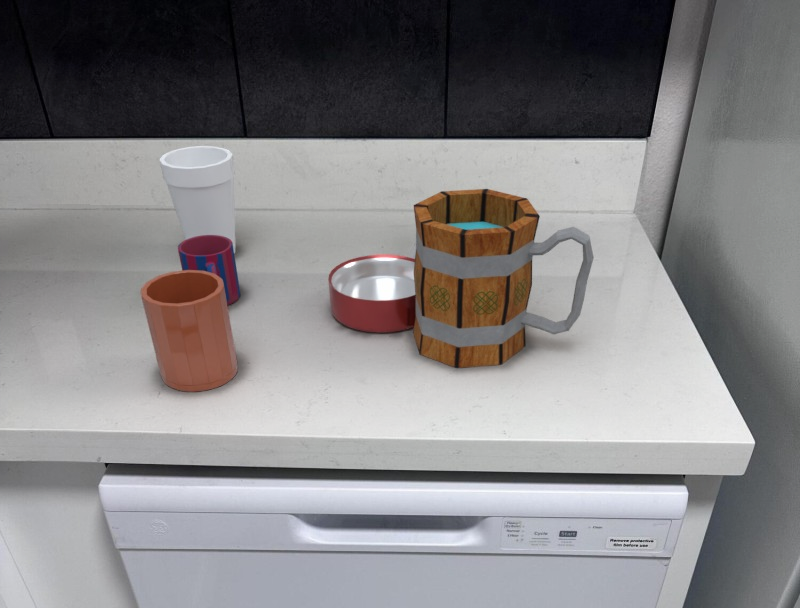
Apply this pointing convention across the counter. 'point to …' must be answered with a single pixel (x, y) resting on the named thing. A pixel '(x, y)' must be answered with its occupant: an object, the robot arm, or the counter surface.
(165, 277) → the tumbler
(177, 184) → the foam cup
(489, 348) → the mug
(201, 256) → the cup
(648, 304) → the counter surface
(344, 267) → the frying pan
